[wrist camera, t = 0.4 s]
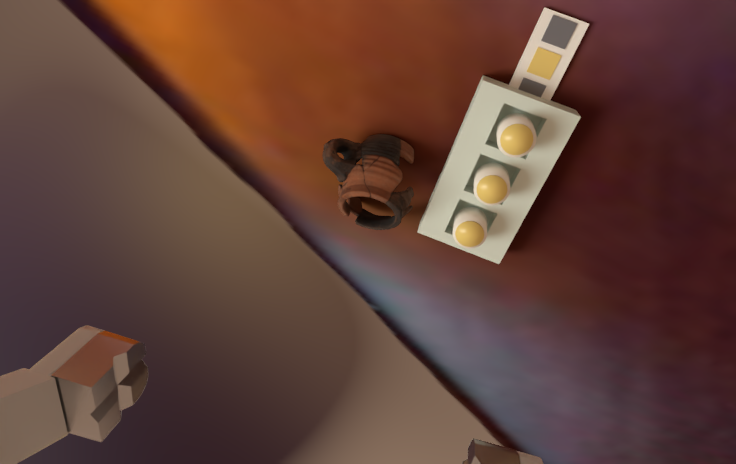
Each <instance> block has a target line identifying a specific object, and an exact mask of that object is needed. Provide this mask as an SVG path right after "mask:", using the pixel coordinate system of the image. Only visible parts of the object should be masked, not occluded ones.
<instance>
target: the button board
mask: <svg viewBox="0 0 736 464" xmlns="http://www.w3.org/2000/svg"><path fill="white" fill-rule="evenodd" d="M512 113H521V114H524V115H526V116H527V117H529V118H530V120H531V121H532V123H533V126H534V129H535V132H536V136H537V139H536V144H535V146H534V148H533V149H532V150H531V151H530V152H529V153H528V154H526V155H524V156H522V157H516V158H514V157H509V156H506V155H505V154H503V153H502V152H501V151H500V149H499V147H498V145H497V135H496V130H497V126H498V124H499V122H500V121H501V120H502V118H504V117H505V116H507V115H509V114H512ZM580 118H581V116H580V115H579V114H578V112H577V111H576V110H575V109H572V108H569V107H567V106H564V105H561V104H559V103H556V102H553V101H551V100H550V101H549V100H546V99H544V98H541V97H538V96H535V95H533V94H530V93H527V92H524V91H522V90H519V89H517V88H514V87H512V86H509V85H508V84H505V83H503V82H500V81H497V80H495V79H492V78H489V77H487V76H484V75H483V76H482V78H481V81H480V83H479V85H478V88H477V90H476V92H475V95H474V97H473V99H472V102H471V104H470V106H469V109H468V111H467V113H466V116H465V118H464V120H463V123H462V125H461V127H460V130H459V132H458V134H457V137H456V139H455V141H454V144H453V146H452V148H451V151H450V153H449V155H448V158H447V160H446V163H445V165H444V167H443V170H442V172H441V174H440V177H439V179H438V181H437V184H436V186H435V188H434V191H433V193H432V195H431V198H430V200H429V202H428V205H427V207H426V209H425V212H424V214H423V216H422V219H421V221H420V225H419V228H418V233H421V234H423V235H426V236H428V237H431V238H433V239H436V240H438V241H441V242H444V243H446V244H449V245H451V246H454V247H456V248H459V249H461V250H464V251H467V252H469V253H472V254H474V255H477V256H479V257H482V258H484V259H487V260H490V261H492V262H495V263H497V264H499V263H500V262H501V260H502V258H503V256H504V254H505V253H506V251H507V249H508V247H509V245H510V244H511V242H512V240H513V238H514V236H515V235H516V233H517V231H518V229H519V227H520V226H521V224H522V222H523V220H524V218H525V217H526V215H527V213H528V211H529V210H530V208H531V206H532V204H533V202H534V201H535V199H536V197H537V195H538V193H539V192H540V190H541V188H542V186H543V184H544V183H545V181H546V179H547V177H548V175H549V174H550V172H551V170H552V168H553V166H554V165H555V163H556V161H557V159H558V157H559V156H560V154H561V152H562V150H563V148H564V147H565V145H566V143H567V141H568V139H569V138H570V136H571V134H572V132H573V130H574V129H575V127H576V125H577V123H578V121H579V120H580ZM491 162H493V163H498V164H501V165H502V166H504V167H505V168H506V170H507V171H508V174H509V180H510V194H509V196H508V198H507V199H506V200H505V201H504V202H502V203H500V204H498V205H493V206H490V205H485V204H483V203H481V202H480V201H478V200H477V198H476V197H475V195H474V176H475V173H476V171H477V169H478V168H479V167H480V166H482V165H484V164H486V163H491ZM465 207H476V208H478V209H480V210H482V211H483V212H484V214H485V215H486V218H487V238H486V240H485V242H484V243H483V244H482V245H480V246H479V247H476V248H464V247H462V246H460V245H458V244H457V243H456V242H455V240H454V238H453V225H454V219H455V216H456V214H457V212H458V211H460V210H461V209H463V208H465Z"/></svg>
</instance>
